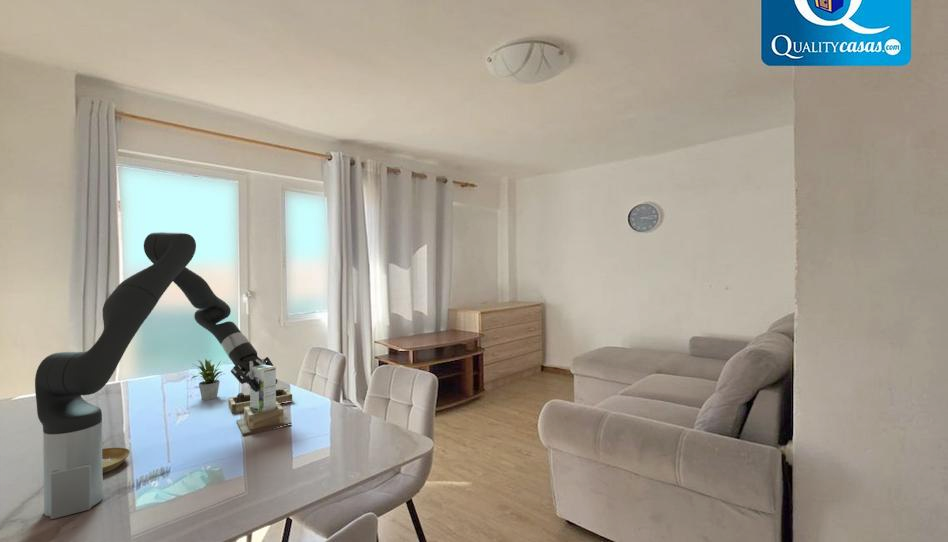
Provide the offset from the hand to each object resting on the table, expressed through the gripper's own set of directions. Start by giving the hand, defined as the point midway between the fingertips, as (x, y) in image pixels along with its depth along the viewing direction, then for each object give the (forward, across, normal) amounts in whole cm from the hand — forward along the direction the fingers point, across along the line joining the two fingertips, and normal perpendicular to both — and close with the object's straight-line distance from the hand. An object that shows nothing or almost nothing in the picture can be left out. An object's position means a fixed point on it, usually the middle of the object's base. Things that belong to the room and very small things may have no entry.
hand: (267, 387), depth 137 cm
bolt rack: (-4, +16, +22) cm, 27 cm away
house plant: (-23, +15, +42) cm, 50 cm away
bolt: (-8, +16, +19) cm, 26 cm away
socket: (+8, 0, +10) cm, 12 cm away
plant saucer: (-5, -38, +23) cm, 44 cm away
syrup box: (+4, 0, +7) cm, 8 cm away
